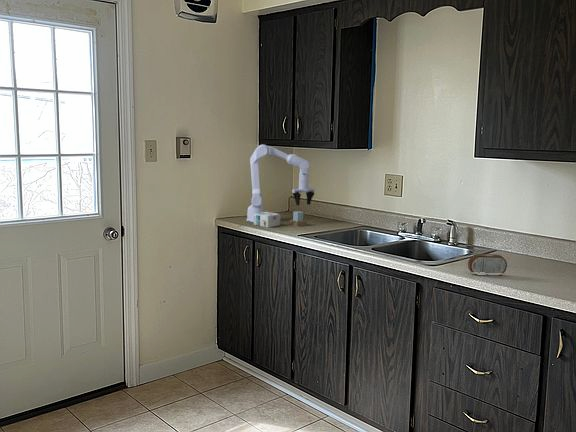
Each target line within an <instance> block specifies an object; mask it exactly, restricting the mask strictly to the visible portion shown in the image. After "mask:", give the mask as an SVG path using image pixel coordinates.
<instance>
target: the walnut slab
mask: <svg viewBox="0 0 576 432" xmlns="http://www.w3.org/2000/svg"><path fill="white" fill-rule="evenodd" d="M289 225H290V226H292V225H293V227H296V226H299V227H307V226H308V221H307V220H304V219H303V221H298V222H297V221H293V219H289Z"/></svg>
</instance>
